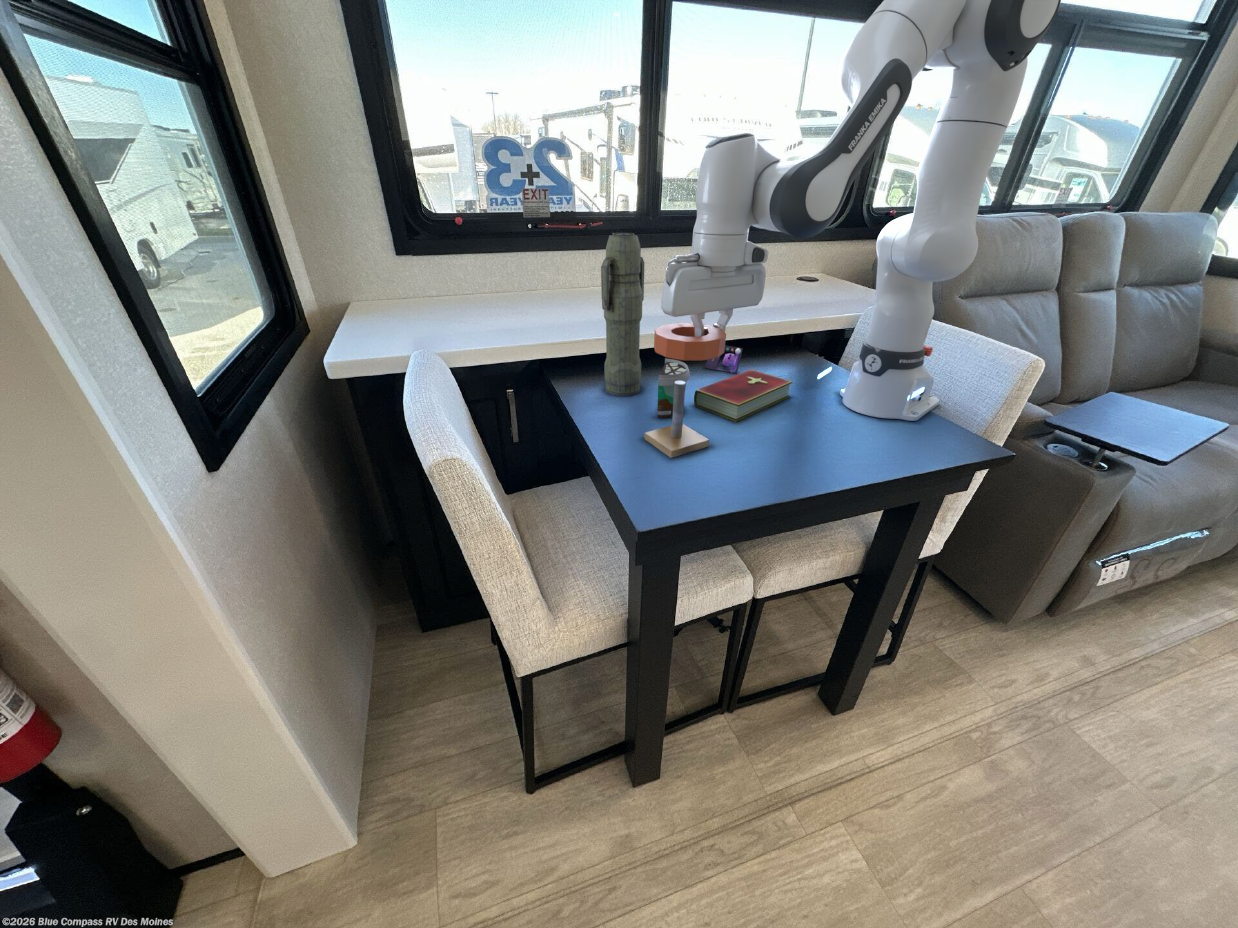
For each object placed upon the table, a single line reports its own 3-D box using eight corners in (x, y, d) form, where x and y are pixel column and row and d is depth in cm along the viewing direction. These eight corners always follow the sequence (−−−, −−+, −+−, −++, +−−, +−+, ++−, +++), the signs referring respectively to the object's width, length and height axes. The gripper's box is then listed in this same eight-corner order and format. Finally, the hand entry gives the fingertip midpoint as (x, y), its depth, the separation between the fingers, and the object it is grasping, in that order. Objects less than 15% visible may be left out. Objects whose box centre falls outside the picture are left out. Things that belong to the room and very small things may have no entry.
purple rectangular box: (709, 342, 132) (741, 348, 128) (716, 344, 136) (747, 349, 132) (704, 367, 133) (735, 373, 129) (711, 368, 138) (741, 374, 134)
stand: (680, 429, 101) (684, 371, 94) (708, 446, 94) (715, 385, 88) (644, 439, 97) (646, 379, 90) (671, 458, 90) (674, 395, 84)
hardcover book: (693, 405, 111) (694, 388, 109) (747, 383, 123) (749, 367, 121) (736, 421, 104) (738, 403, 101) (789, 397, 116) (792, 380, 113)
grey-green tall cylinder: (651, 386, 122) (656, 233, 104) (622, 400, 114) (622, 237, 96) (623, 378, 127) (624, 230, 109) (593, 392, 119) (589, 234, 101)
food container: (685, 423, 103) (688, 378, 98) (656, 420, 104) (658, 376, 99) (689, 401, 114) (692, 359, 109) (663, 399, 115) (665, 357, 110)
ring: (694, 336, 93) (695, 319, 91) (737, 353, 84) (740, 335, 82) (641, 345, 87) (642, 328, 86) (682, 364, 78) (683, 345, 77)
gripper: (679, 258, 73) (673, 349, 80) (776, 251, 82) (763, 332, 89) (655, 253, 77) (651, 339, 84) (749, 247, 87) (739, 325, 94)
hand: (709, 336), depth 87 cm, fingers closed on ring, 3 cm apart
